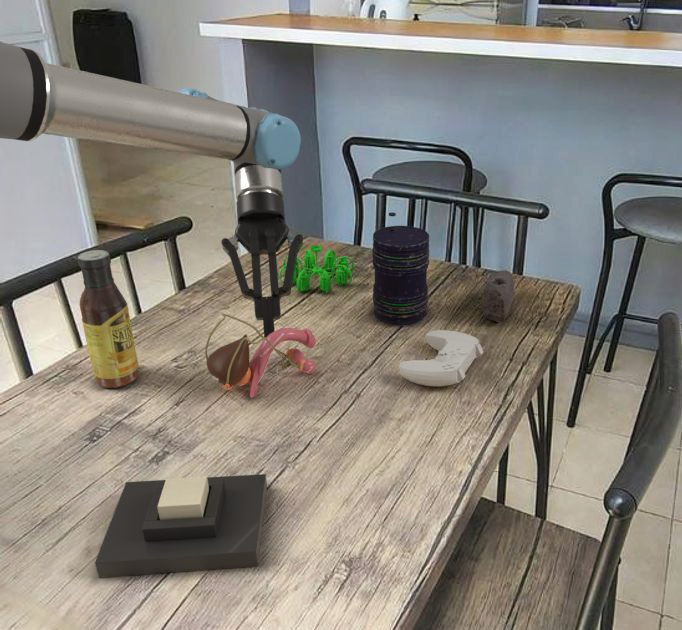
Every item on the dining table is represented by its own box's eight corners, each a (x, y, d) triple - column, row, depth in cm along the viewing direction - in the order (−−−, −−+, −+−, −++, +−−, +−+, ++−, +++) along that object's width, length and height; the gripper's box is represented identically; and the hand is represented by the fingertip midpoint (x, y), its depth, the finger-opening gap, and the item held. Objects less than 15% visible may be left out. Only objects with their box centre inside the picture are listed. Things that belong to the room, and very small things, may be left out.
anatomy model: (342, 355, 103) (276, 307, 92) (285, 428, 102) (212, 387, 91) (310, 328, 110) (245, 281, 99) (256, 396, 109) (185, 355, 98)
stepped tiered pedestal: (98, 578, 70) (90, 549, 68) (129, 496, 80) (122, 469, 78) (258, 566, 71) (254, 538, 70) (267, 487, 82) (264, 461, 80)
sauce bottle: (131, 391, 99) (104, 265, 90) (88, 390, 99) (57, 264, 90) (147, 367, 105) (124, 247, 96) (107, 366, 105) (80, 246, 96)
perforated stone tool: (492, 290, 132) (494, 257, 129) (519, 294, 131) (522, 261, 128) (475, 325, 119) (478, 290, 116) (505, 330, 118) (509, 294, 115)
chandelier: (334, 303, 126) (332, 268, 123) (264, 288, 130) (261, 255, 127) (368, 272, 138) (367, 240, 135) (303, 260, 143) (301, 229, 140)
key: (160, 521, 72) (157, 506, 71) (168, 492, 76) (166, 478, 75) (202, 518, 72) (200, 504, 72) (209, 489, 76) (207, 475, 75)
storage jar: (438, 317, 122) (442, 222, 113) (391, 331, 117) (392, 233, 108) (407, 296, 129) (409, 205, 121) (362, 309, 124) (361, 214, 116)
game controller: (429, 323, 113) (486, 324, 109) (433, 347, 115) (489, 349, 110) (391, 365, 101) (453, 368, 97) (397, 390, 103) (458, 395, 99)
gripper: (300, 208, 116) (312, 342, 109) (221, 212, 113) (228, 349, 107) (300, 187, 109) (313, 329, 102) (215, 191, 106) (222, 336, 99)
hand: (269, 339), depth 104 cm, fingers closed
